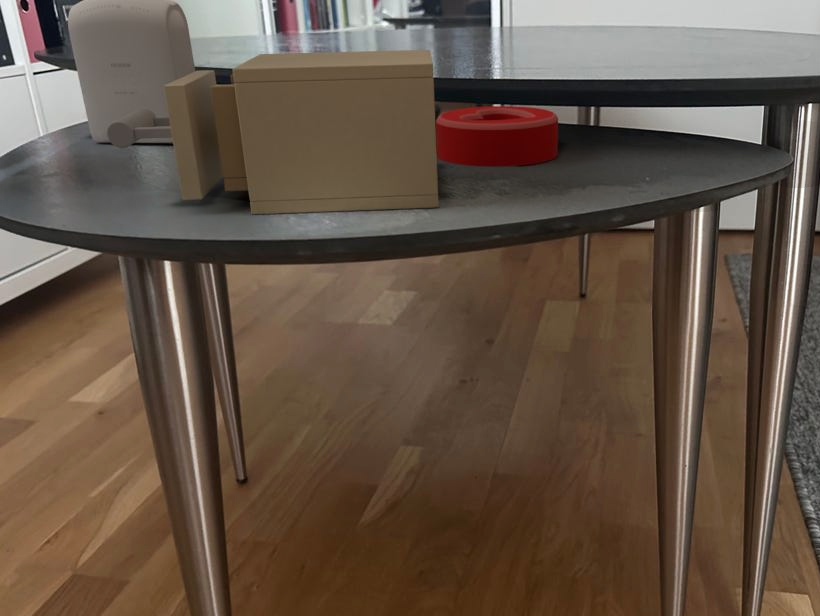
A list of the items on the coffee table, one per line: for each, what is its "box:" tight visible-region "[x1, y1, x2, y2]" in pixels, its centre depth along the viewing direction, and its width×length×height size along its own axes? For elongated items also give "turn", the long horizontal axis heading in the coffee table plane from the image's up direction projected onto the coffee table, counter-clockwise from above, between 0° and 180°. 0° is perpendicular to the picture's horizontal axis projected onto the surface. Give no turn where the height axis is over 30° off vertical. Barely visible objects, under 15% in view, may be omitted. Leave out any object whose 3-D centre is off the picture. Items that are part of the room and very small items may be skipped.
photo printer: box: [67, 0, 196, 144], centre depth 74 cm, size 10×4×12 cm, turn 78°
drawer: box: [107, 69, 248, 201], centre depth 55 cm, size 15×8×7 cm, turn 94°
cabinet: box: [232, 49, 440, 215], centre depth 55 cm, size 12×10×9 cm
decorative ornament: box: [435, 105, 559, 167], centre depth 68 cm, size 10×10×3 cm
